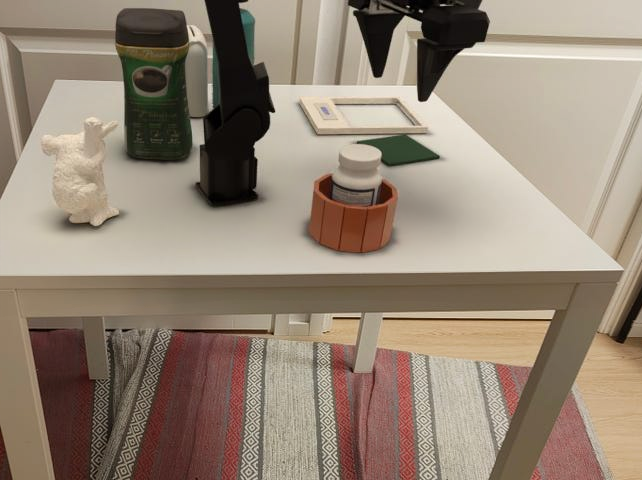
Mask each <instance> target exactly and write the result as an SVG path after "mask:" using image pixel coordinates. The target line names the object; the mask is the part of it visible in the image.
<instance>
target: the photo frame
mask: <svg viewBox="0 0 642 480" xmlns="http://www.w3.org/2000/svg"><path fill="white" fill-rule="evenodd" d="M298 104H299V105H300V107H301V109H302V110H303V112H304V113H305V115H306V117H307V119H308V121H309V122H310V124H311V126H312V127H313V129H314V131H315V133H316V135H353V134H354V135H358V134H359V135H368V134H369V135H370V134H373V135H374V134H375V135H376V134H379V135H380V134H381V135H382V134H427V133H428V130H429V129H428V128H429V127H428V125H427V124H426V123H425V122H424V121H423V120H422V119H421V118H420V117H419V116H418V115H417V114H416V113H415V112H414V111H413V110H412V108H411V107H410V106H409V105H407V103H406V102H405V101H404V100H403V99H402V98H401V97H400V96H312V97H311V96H306V97H305V96H303V97H301V96H300V97H299V101H298ZM363 104H365V105H369V104H370V105H372V104H374V105H375V104H376V105H378V104H379V105H381V104H382V105H384V104H388V105H389V104H394V105H396V106H397V107H398V108H399V109H400V110H401V111H402V112H403V113H404V114H405V115H406V117H408V119H409V120H410V121H411V122H412V123H413V125H375V126H374V125H369V126H368V125H365V126H363V125H362V126H359V125H357V126H354V125H353V126H351V125H350V124H349V122H348V121H347V119H346V118H345V117H344V116H343V114H342V112H341V111H340V110H339V108H338V107H337V106H336V105H363Z"/></svg>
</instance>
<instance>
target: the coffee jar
mask: <svg viewBox="0 0 642 480" xmlns="http://www.w3.org/2000/svg"><path fill="white" fill-rule="evenodd" d="M187 23H188V22H187V18H186V14H185V12H184V11H183V10H180V9H164V8H154V7H153V8H152V7H150V8H149V7H138V8H137V7H124V8H122V10H120V11H119V12H118V14H117V15H116V19H115V34H114V36H115V38H114V46H115V50H116V53H117V55H118V58H119V60H120V64H121V71H122V77H123V78H122V79H123V103H124V104H123V105H124V106H123V107H124V108H123V109H124V110H123V111H124V112H123V113H124V115H123V116H124V117H123V122H124V123H123V125H124V126H123V133H124V137H123V138H124V148H125V152H126V153H127V154H128V155H130V156H131V157H133V158H136V159H147V160H148V159H149V160H179V159H182V158H184V157H186V156H188V155H189V154H190V153H191V152H192V149H193V144H194V143H193V132H192V123H191V121H192V120H191V117H190V114H189V107H188V99H187V91H186V77H185V60H186V57H187V54H188V51H189V35H188V29H187V25H188V24H187Z"/></svg>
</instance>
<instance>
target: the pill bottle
mask: <svg viewBox="0 0 642 480" xmlns="http://www.w3.org/2000/svg"><path fill="white" fill-rule="evenodd" d="M381 156H382V154H381V151H380V150H379V149H377V148H375V147H373V146H369V145H364V144H357V143H353V144H347V145H343V146H342V147H341V148H340V149H339V152H338V160H337V161H338V163H339V165H338V166H336V167H335V168H334V170H333V172H332V173H333V174H332V180H331V189H330V198H329V199H330V200H333V201H336V202H339V203H341V204H344V205H352V206H363V207H368V206H374V205H378V202H379V196H380V190H381V183H382V179H383V177H382V173H381V171H380V170H379V169H378V168H379V167H380V165H381V163H382V161H381Z"/></svg>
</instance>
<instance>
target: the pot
mask: <svg viewBox="0 0 642 480" xmlns="http://www.w3.org/2000/svg"><path fill="white" fill-rule="evenodd" d="M332 174H333V172H331V173H326V174H324V175H322V176H321V177H319V178H317V179H316V180H314V182H313V189H312V199H311V208H310V216H309V217H310V218H309V228H308V233H309V235H310V236H311V237H312V238H313V239H314V240H315V241H316V242H317V243H318V244H320V245H322V246H325V247H327V248H330V249H333V250H335V251H339V252H346V253H347V252H348V253H356V254H357V253H358V254H359V253H367V252H372V251H377V250H379V249H382V248H383V247H384V246H385V245H386V244H388V242H390V240H391V235H392V231H393V225H394V220H395V216H396V211H397V205H398V200H399V194H398V189H397V187H396V186H395V185H393V184H392V183H391V182H389V181H388V180H386V179H384V178H382V183H381V190H380V196H379V202H378V205H374V206H368V207H363V206H352V205H344V204H341V203H339V202H336V201H333V200H330V199H329V198H330V189H331V180H332Z"/></svg>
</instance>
